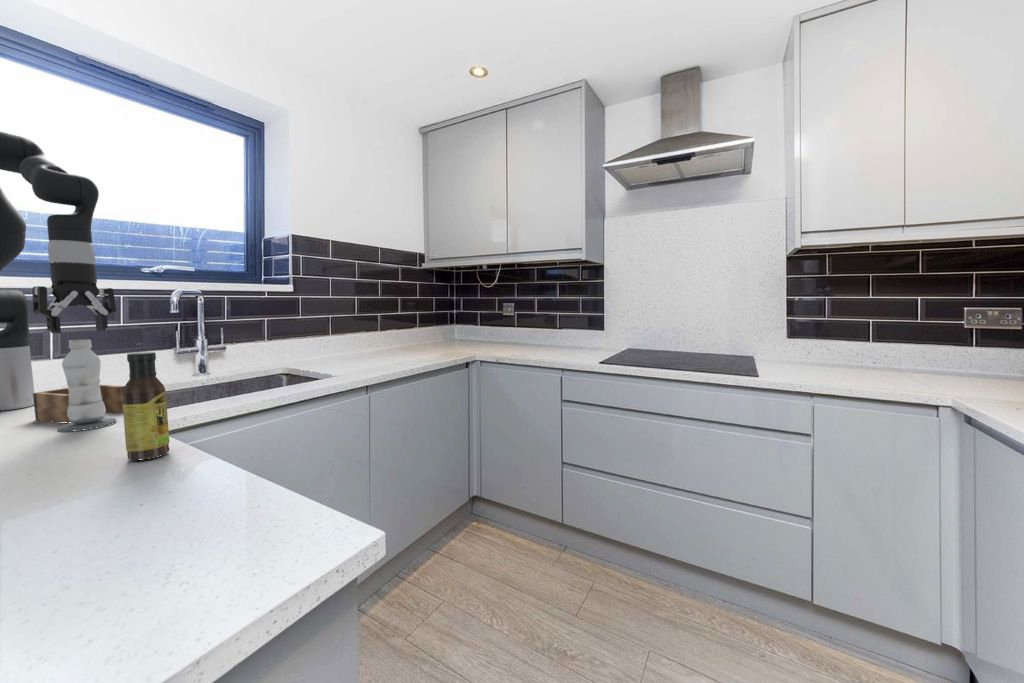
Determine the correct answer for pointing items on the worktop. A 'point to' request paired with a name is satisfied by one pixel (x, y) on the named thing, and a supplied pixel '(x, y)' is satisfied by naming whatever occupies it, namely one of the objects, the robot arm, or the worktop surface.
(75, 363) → the plastic bottle
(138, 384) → the sauce bottle
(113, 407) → the holder
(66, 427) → the mat
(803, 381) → the worktop surface
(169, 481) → the worktop surface
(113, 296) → the robot arm
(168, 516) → the worktop surface
